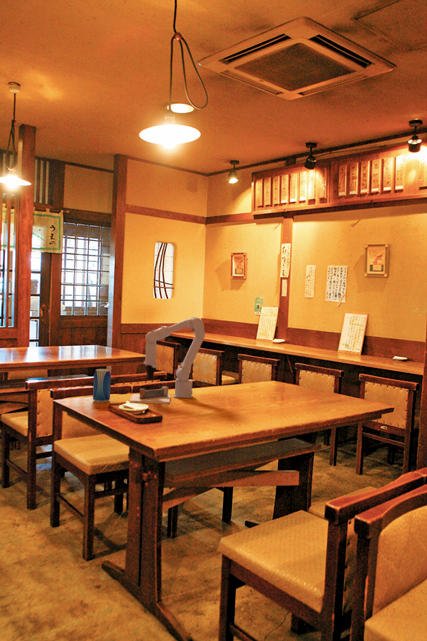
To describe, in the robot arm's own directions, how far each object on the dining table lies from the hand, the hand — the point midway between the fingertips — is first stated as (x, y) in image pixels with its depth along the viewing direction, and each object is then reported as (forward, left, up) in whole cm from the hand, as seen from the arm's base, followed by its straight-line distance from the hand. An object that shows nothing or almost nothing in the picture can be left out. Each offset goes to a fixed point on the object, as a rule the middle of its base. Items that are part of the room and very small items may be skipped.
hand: (150, 379), depth 271 cm
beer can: (+23, +17, -10) cm, 30 cm away
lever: (-3, +7, -8) cm, 11 cm away
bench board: (-1, +8, -9) cm, 13 cm away
